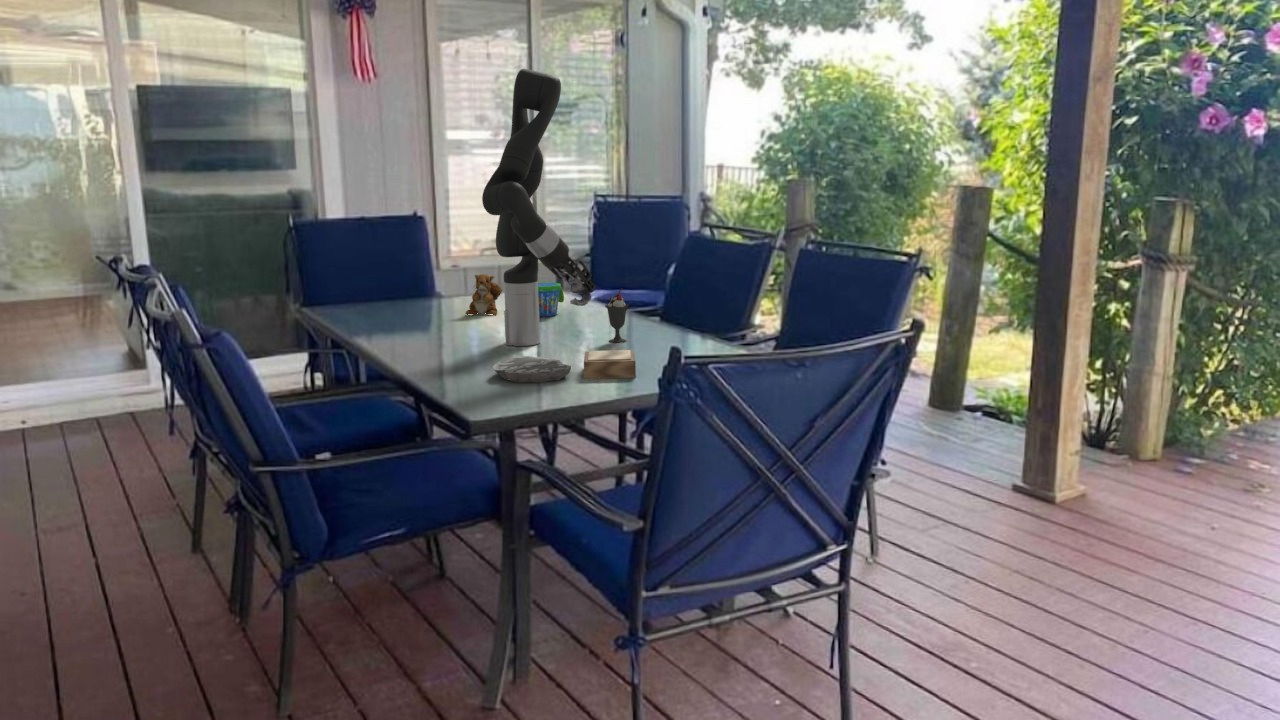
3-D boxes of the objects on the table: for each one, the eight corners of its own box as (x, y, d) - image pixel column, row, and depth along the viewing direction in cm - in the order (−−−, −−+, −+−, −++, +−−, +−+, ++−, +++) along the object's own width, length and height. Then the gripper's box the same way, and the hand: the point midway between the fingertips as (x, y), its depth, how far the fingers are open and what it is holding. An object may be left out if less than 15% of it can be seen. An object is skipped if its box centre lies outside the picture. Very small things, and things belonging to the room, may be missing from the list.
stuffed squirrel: (464, 316, 313) (461, 276, 310) (477, 309, 327) (475, 270, 324) (493, 317, 312) (491, 276, 309) (506, 309, 325) (504, 270, 322)
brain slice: (475, 377, 230) (475, 365, 229) (532, 365, 241) (531, 353, 241) (527, 390, 216) (526, 377, 215) (584, 377, 228) (583, 365, 227)
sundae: (627, 343, 265) (626, 289, 261) (603, 343, 266) (601, 289, 263) (632, 339, 271) (631, 286, 268) (608, 338, 272) (607, 285, 269)
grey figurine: (574, 308, 241) (574, 268, 239) (566, 305, 246) (565, 265, 244) (594, 306, 243) (593, 267, 241) (585, 303, 248) (585, 264, 246)
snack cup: (553, 310, 322) (552, 280, 319) (574, 314, 314) (573, 283, 312) (516, 316, 311) (514, 285, 309) (536, 320, 304) (535, 288, 301)
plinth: (584, 378, 225) (583, 360, 224) (585, 367, 237) (585, 350, 236) (635, 377, 225) (635, 359, 224) (634, 366, 237) (634, 349, 236)
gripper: (572, 234, 230) (611, 280, 241) (537, 231, 241) (576, 274, 251) (555, 259, 228) (595, 303, 239) (520, 254, 239) (560, 297, 249)
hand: (585, 288), depth 245 cm, fingers closed on grey figurine, 5 cm apart
